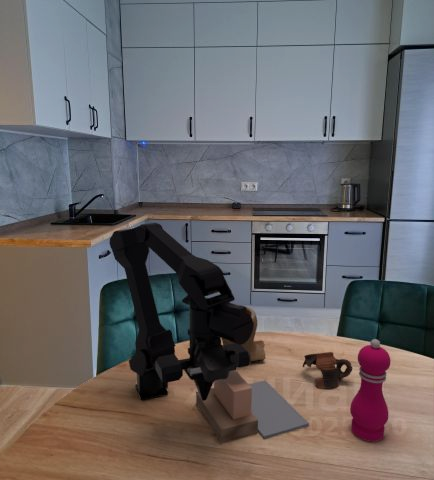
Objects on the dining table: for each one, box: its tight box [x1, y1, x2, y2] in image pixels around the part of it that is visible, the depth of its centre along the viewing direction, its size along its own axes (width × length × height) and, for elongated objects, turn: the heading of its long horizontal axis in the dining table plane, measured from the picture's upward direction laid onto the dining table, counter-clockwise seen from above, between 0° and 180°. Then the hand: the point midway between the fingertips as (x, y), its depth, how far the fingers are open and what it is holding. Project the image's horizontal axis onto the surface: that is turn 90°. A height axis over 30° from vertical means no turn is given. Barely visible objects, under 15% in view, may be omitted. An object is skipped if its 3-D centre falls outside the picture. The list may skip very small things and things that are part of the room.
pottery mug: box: [302, 351, 353, 389], centre depth 100 cm, size 12×10×8 cm
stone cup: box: [221, 305, 266, 362], centre depth 109 cm, size 15×12×15 cm
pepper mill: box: [349, 338, 391, 442], centre depth 79 cm, size 7×7×20 cm
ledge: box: [195, 387, 259, 444], centre depth 85 cm, size 8×14×3 cm, turn 23°
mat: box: [248, 379, 310, 440], centre depth 88 cm, size 11×18×1 cm, turn 23°
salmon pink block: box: [213, 369, 252, 419], centre depth 84 cm, size 4×10×6 cm, turn 23°
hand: (203, 399), depth 82 cm, fingers closed
